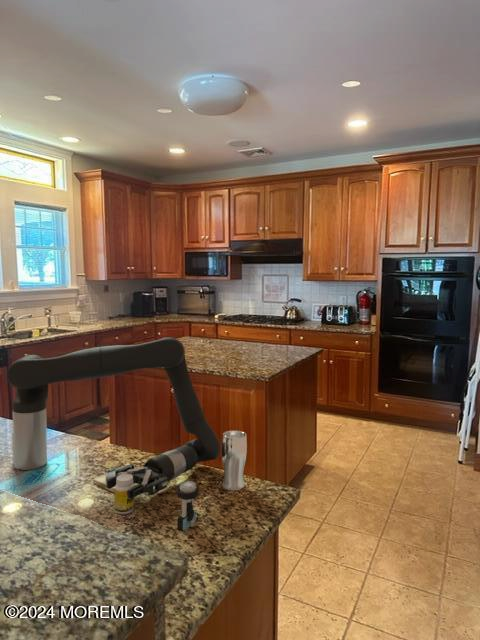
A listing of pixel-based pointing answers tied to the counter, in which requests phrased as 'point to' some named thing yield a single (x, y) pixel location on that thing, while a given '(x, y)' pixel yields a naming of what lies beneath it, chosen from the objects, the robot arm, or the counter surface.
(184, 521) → the push button
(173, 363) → the robot arm
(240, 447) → the beer glass
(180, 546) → the counter surface
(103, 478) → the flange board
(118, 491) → the supplement bottle
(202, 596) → the counter surface
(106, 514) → the counter surface
